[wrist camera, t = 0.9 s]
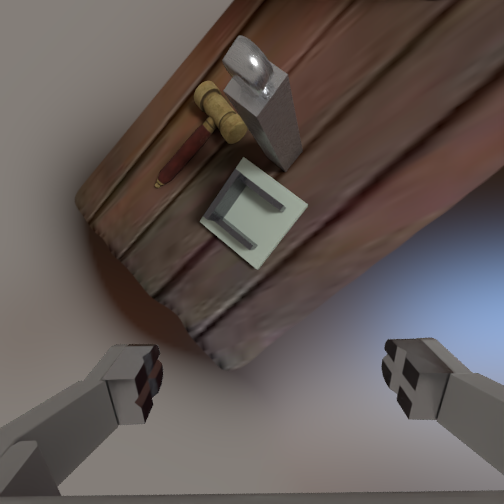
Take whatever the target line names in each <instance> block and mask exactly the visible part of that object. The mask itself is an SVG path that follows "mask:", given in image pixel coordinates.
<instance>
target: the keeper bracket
mask: <svg viewBox="0 0 504 504" xmlns="http://www.w3.org/2000/svg"><path fill="white" fill-rule="evenodd" d="M307 207H308V204H306V203H305V202H304V201H302V200H301V199H300V198H298V197H297V196H296V195H294V194H293V193H292V192H290V191H289V190H288V189H286V188H285V187H284V186H282V185H281V184H279V183H278V182H277V181H275V180H274V179H273V178H271V177H270V176H269V175H267V174H266V173H265V172H263V171H262V170H261V169H259V168H258V167H256V166H255V165H254V164H252V163H251V162H250V161H248V160H247V159H246V158H244V157H243V158H242V160H241V161H240V163H239V164H238V166H237V167H236V169H235V170H234V171H233V173H232V174H231V176H230V177H229V179H228V180H227V182H226V183H225V185H224V186H223V188H222V189H221V190H220V192H219V193H218V195H217V196H216V198H215V199H214V201H213V202H212V204H211V205H210V207H209V208H208V210H207V211H206V213H205V214H204V215H203V217H202V219H201V220H200V221H199V222H201V223H202V224H203V225H204V226H205V227H207V228H208V229H209V230H210V231H211V232H213V233H214V234H215V235H216V236H217V237H218V238H220V239H221V240H222V241H223V242H224V243H226V244H227V245H228V246H229V247H230V248H232V249H233V250H234V251H235V252H236V253H238V254H239V255H240V256H241V257H242V258H244V259H245V260H246V261H247V262H248V263H250V264H251V265H252V266H253V267H254V268H256V269H259V268H260V267H261V265H262V264H263V263H264V262H265V260H266V259H267V258H268V256H269V255H270V254H271V253H272V251H273V250H274V249H275V247H276V246H277V245H278V244H279V242H280V241H281V240H282V239H283V237H284V236H285V235H286V233H287V232H288V231H289V230H290V228H291V227H292V226H293V225H294V223H295V222H296V221H297V219H298V218H299V217H300V216H301V214H302V213H303V212H304V211H305V209H306V208H307Z"/></svg>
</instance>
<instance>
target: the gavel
mask: <svg viewBox="0 0 504 504" xmlns="http://www.w3.org/2000/svg"><path fill="white" fill-rule="evenodd" d="M194 101H195V103H196V104H197V105H198V107H199V108H200V109H201V110H202V111H203V112H205V113H206V114H207V115H208V116H209V117H208V118H207V121H205V122H204V123H203V124H202V125H201V126H200V127H198V128H197V129H196V130H195V132H194V133H193V134H192V135H191V136H190V137H189V139H188V140H187V141H186V142H185V143H184V144H183V145H182V147H181V148H180V149H179V150H178V151H177V152H176V154H175V155H174V156H173V157H172V158H171V159H170V161H169V162H168V163H167V164H166V165H165V166H164V168H163V169H162V170H161V171H160V174H159V177H158V179H157V183H156V184H155V187H156V188H159V187H160V185H164V184H166V183H168V182H170V181H171V180H172V179H173V178H174V177H175V176H176V175H177V174H178V172H179V171H180V170H181V169H182V168H183V167H184V166H185V165H186V164H187V162H188V161H189V160H190V159H191V158H192V157H193V156H194V155H195V154H196V152H197V151H198V150H199V149H200V148H201V147H202V146H203V145H204V143H205V142H206V141H207V140H208V139H209V137H210V135H211V134H212V133H213V132H214V129H216V128H217V127H218V129H219V130H220V132H221V135H222V136H223V138H224V139H225V140H226V141H227V143H229V144H234V143H236V142H238V141H239V140H240V139H241V138H242V137H243V136H244V135H245V134H246V132H247V129H248V128H247V126H246V125H245V123H244V122H243V120H242V118H241V117H240V115H239V114H236V112H235V111H234V110H233V109H232V107H231V106H230V105H229V104H228V103H227V101H226V100H225V99H224V98H223V97H222V96H221V92H220V90H219V89H218V88H217V87H216V85H215V84H214V83H213V82H211V81H206V82H203V83H202V84H200V85H199V86H198V88H197V89H196V91H195V94H194Z"/></svg>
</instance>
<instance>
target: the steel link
mask: <svg viewBox="0 0 504 504" xmlns="http://www.w3.org/2000/svg"><path fill="white" fill-rule="evenodd" d="M223 64H224V66H225V68H226V70H227V71H228V73H229V74H230V75H231V76H232V79H231V81H230V82H229V83H228V85H227V86H226V88H225V89H224V92H225V94H226V96H227V97H228V99H229V100H230V102H231V103H232V105H233V106H234V108H235V109H236V111H237V112H238V114H239V115H240V117H241V118H242V120H243V122H244V123H245V125H246V126H247V128H248V129H249V131H250V132H251V134H252V135H253V137H254V138H255V140H256V141H257V143H258V144H259V146H260V148H261V149H262V151H263V152H264V154H265V155H266V157H267V158H269V159H270V160H271V161H272V162H273V163H275V164H276V165H277V166H278V167H280V168H281V169H282V170H283V171H285V172H286V171H287V170H288V168H289V167H290V166H291V165H292V164H293V162H294V161H295V160H296V159H297V157H298V156H299V155H300V154H301V152H302V151H303V150H302V145H301V140H300V135H299V130H298V124H297V119H296V114H295V109H294V104H293V99H292V94H291V89H290V83H289V78H288V74H286V73H285V72H284V71H282V70H281V69H279V68H278V67H277V66H275V65H274V64H272V63H271V62H270V61H268V59H267V57H266V56H265V55H264V53H263V52H262V51H261V50H260V49H259V48H258V47H257V46H256V45H255V44H254V43H253V42H252V41H251V40H249V39H248V38H246V37H244V36H241V35H240V36H238V37H237V39H236V40H235V42H234V43H233V45H232V46H231V48H230V49H229V51H228V52H227V54H226V55H225V57H224V58H223Z"/></svg>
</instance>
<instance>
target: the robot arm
mask: <svg viewBox="0 0 504 504" xmlns="http://www.w3.org/2000/svg"><path fill="white" fill-rule="evenodd" d="M385 351H386V352H387V355H386V356H385V357H384V358H383V359H382V373H383V377H384V379H385V382H386V384H387V385H388V387H389V388H390V389H391V390H392V391H394V392H395V393H397V394H398V395H397V401H398V403H399V405H400V406H401V408H402V410H403V411H404V413H405V414H406V416H407V417H408V419H417V420H419V419H420V420H437V422H438V423H440V424H441V425H442V426H443V427H445V428H446V429H447V430H448V431H450V432H451V433H452V434H453V435H454V436H456V437H457V438H458V439H459V440H461V441H462V442H463V443H465V444H466V445H467V446H468V447H470V448H471V449H472V450H473V451H474V452H476V453H477V454H478V455H479V456H481V457H482V458H483V459H485V460H486V461H487V462H488V463H490V464H491V465H492V466H493V467H494V468H496V469H497V470H498V471H499V472H501V473H502V474H503V475H504V385H501V384H499V383H497V382H495V381H493V380H491V379H489V378H487V377H485V376H483V375H480V374H478V373H472V372H471V371H470V370H469V369H468V368H467V367H465V366H464V365H463V364H462V363H461V362H460V361H459V360H458V359H457V358H456V357H454V355H452V354H451V353H450V352H449V351H448V350H447V349H446V348H445V347H444V346H443V345H442V344H440V343H439V342H438V341H437V340H436V339H434V338H417V339H390V340H389V339H388V340H387V341H386V343H385ZM159 355H160V350H159V346H158V345H156V344H129V345H127V344H126V345H125V344H124V345H114V346H112V347H111V348H110V349H109V350H108V351H107V353H106V354H105V355H104V356H103V358H102V359H101V360H100V361H99V362H98V364H97V365H96V366H95V367H94V369H93V370H92V371H91V372H90V374H89V375H88V376H87V377H86V379H85V380H84V381H78V382H76V383H75V384H73V385H71V386H70V387H68V388H66V389H65V390H63V391H61V392H60V393H58V394H56V395H55V396H53V397H51V398H50V399H48V400H46V401H45V402H43V403H41V404H40V405H38V406H36V407H35V408H33V409H31V410H30V411H28V412H26V413H25V414H23V415H21V416H20V417H18V418H16V419H15V420H13V421H11V422H10V423H8V424H6V425H5V426H3V427H1V428H0V504H504V490H503V491H502V490H501V491H426V492H425V491H424V492H422V491H421V492H349V493H348V492H347V493H271V494H269V493H268V494H192V495H191V494H188V495H187V494H185V495H105V496H104V495H103V496H61V494H60V492H59V490H58V487H57V486H59V484H61V482H63V481H64V480H65V479H66V478H67V477H68V476H69V475H70V474H71V473H72V472H73V471H74V470H75V469H76V468H77V467H78V466H79V465H80V464H81V463H82V462H83V461H84V460H85V459H86V458H87V457H88V456H89V455H90V454H91V453H92V452H93V451H94V450H95V449H96V448H97V447H98V446H99V445H100V444H101V443H102V442H103V441H104V440H105V439H106V438H107V437H108V436H109V435H110V434H111V433H112V432H113V431H114V430H115V429H116V428H117V427H118V425H129V424H145V422H146V420H147V418H148V416H149V413H150V411H151V409H152V406H153V400H152V398H153V397H154V396H155V395H156V394H157V393H158V392H159V390H160V387H161V385H162V379H163V365H162V363H161V362H160V361H159V360H158V357H159Z"/></svg>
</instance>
